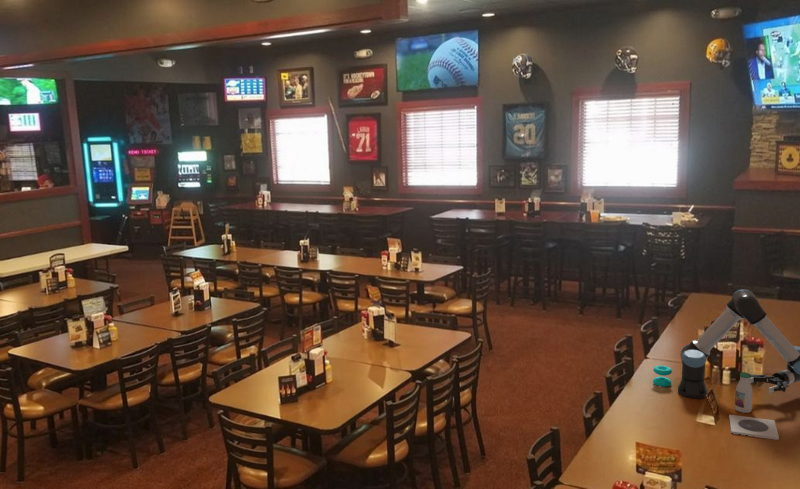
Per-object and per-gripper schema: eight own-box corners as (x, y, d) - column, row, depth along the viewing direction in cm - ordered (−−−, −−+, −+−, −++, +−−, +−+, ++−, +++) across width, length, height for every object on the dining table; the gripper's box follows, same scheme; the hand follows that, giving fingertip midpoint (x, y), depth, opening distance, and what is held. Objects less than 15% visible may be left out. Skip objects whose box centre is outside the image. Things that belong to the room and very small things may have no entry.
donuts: (676, 368, 376) (663, 372, 372) (675, 385, 377) (662, 388, 373) (662, 363, 385) (649, 366, 381) (661, 379, 386) (649, 383, 382)
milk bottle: (747, 407, 346) (749, 370, 342) (754, 413, 338) (756, 376, 335) (732, 407, 347) (734, 370, 343) (738, 413, 339) (740, 376, 336)
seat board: (731, 433, 317) (731, 430, 317) (729, 416, 335) (729, 414, 335) (778, 440, 309) (779, 437, 309) (774, 422, 327) (774, 419, 327)
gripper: (805, 392, 344) (779, 401, 334) (760, 377, 366) (735, 385, 356) (806, 379, 342) (780, 387, 333) (761, 364, 364) (735, 372, 355)
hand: (756, 386), depth 345 cm, fingers open, 13 cm apart
